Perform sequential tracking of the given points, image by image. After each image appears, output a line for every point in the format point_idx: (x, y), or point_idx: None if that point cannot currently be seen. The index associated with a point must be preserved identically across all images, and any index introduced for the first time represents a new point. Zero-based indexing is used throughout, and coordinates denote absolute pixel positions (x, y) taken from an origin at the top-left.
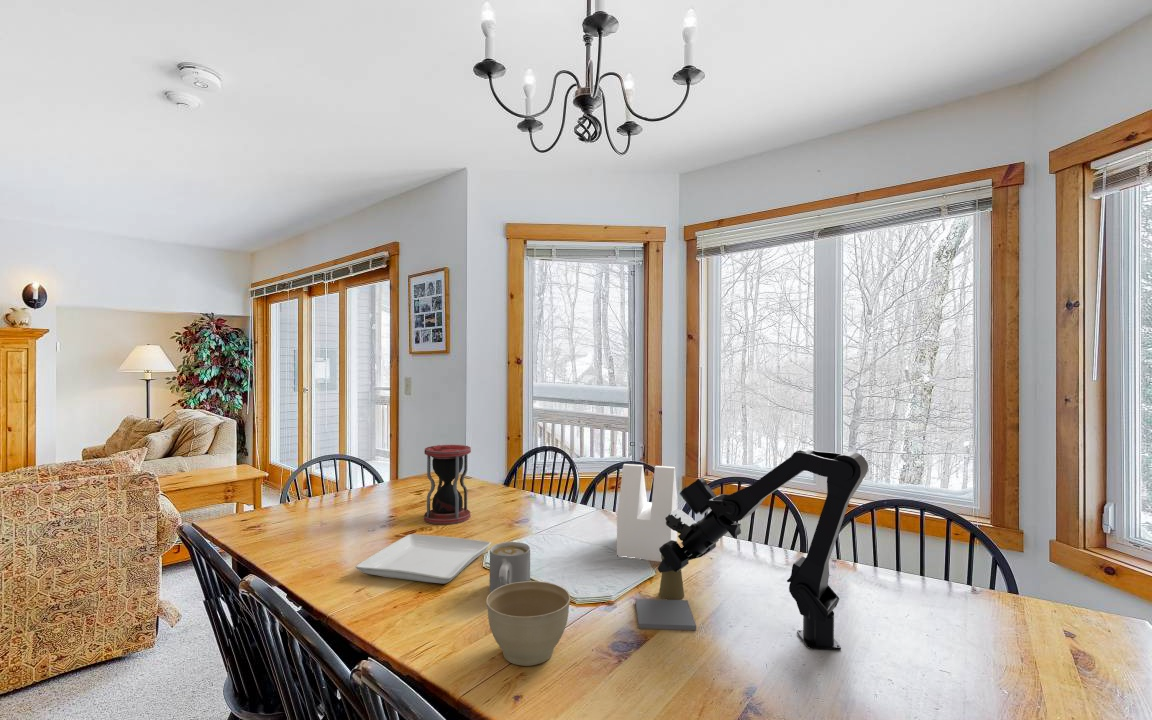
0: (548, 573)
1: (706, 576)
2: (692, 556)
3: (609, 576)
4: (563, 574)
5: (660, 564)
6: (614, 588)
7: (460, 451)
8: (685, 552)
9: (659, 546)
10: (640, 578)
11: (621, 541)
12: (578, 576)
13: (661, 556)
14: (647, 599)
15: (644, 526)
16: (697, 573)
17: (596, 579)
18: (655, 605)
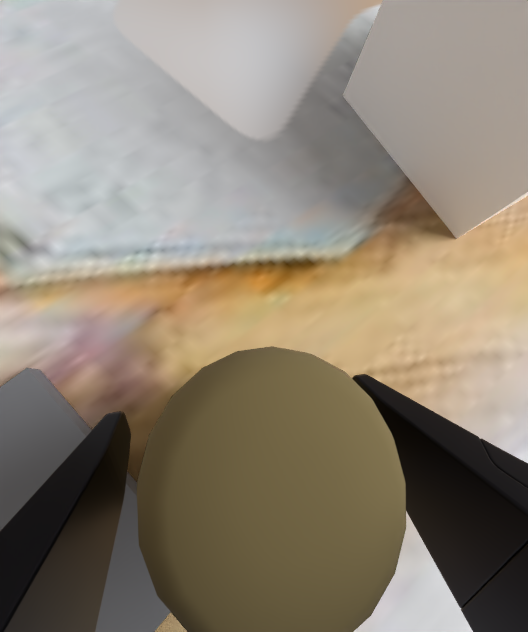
0: (59, 8)
1: (488, 407)
2: (472, 602)
3: (195, 154)
4: (89, 43)
5: (54, 477)
6: (113, 222)
7: None
8: (462, 517)
9: (481, 163)
10: (268, 240)
11: (383, 40)
12: (112, 83)
13: (173, 395)
14: (57, 417)
15: (523, 8)
16: (476, 363)
17: (136, 136)
18: (15, 499)
